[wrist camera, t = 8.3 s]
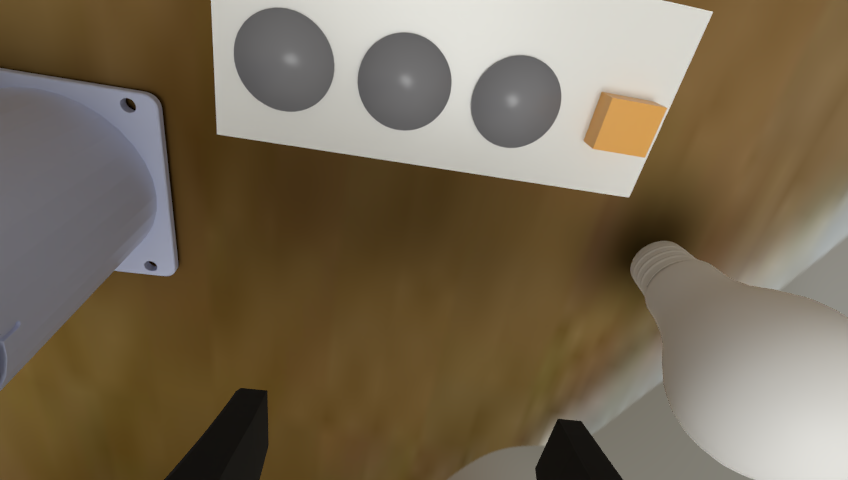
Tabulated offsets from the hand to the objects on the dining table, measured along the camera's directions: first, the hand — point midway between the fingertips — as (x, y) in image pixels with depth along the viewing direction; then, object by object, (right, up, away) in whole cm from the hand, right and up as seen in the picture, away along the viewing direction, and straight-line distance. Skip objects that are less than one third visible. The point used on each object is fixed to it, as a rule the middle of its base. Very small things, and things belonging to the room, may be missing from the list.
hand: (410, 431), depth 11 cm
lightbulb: (+11, +4, +11) cm, 16 cm away
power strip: (+1, +12, +5) cm, 13 cm away
